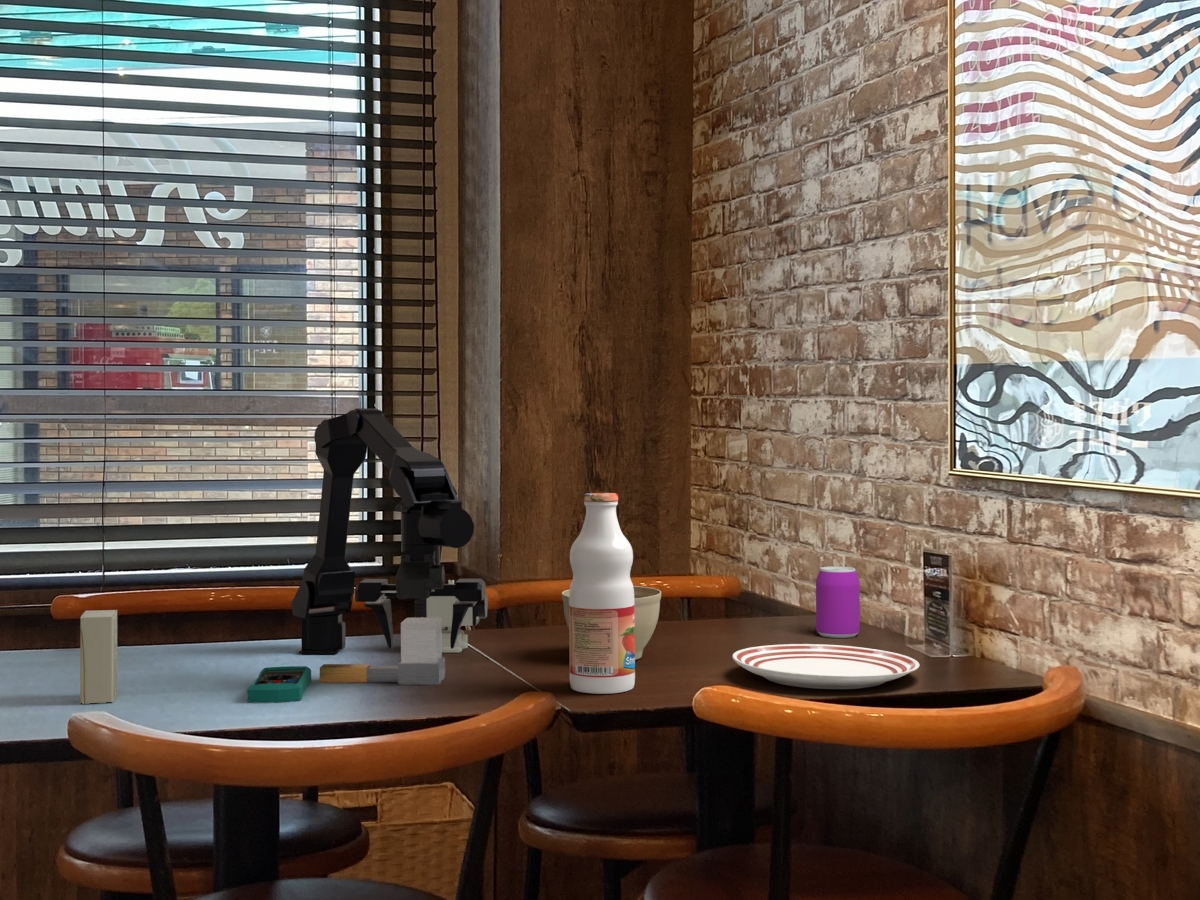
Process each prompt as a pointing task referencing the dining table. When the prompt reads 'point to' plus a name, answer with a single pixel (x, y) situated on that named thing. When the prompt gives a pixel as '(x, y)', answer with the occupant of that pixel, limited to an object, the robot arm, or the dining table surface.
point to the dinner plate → (824, 665)
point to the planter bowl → (636, 614)
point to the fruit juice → (601, 602)
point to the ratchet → (385, 673)
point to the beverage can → (837, 602)
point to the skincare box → (98, 656)
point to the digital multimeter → (280, 684)
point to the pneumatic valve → (450, 617)
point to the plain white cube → (421, 641)
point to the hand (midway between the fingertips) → (421, 648)
